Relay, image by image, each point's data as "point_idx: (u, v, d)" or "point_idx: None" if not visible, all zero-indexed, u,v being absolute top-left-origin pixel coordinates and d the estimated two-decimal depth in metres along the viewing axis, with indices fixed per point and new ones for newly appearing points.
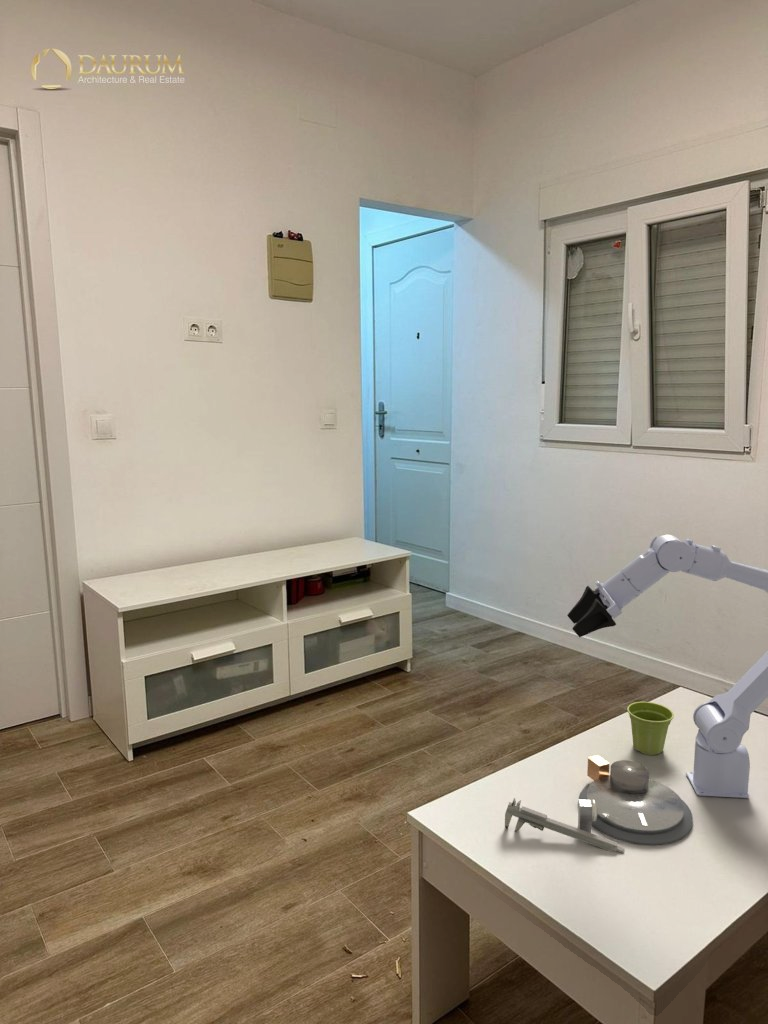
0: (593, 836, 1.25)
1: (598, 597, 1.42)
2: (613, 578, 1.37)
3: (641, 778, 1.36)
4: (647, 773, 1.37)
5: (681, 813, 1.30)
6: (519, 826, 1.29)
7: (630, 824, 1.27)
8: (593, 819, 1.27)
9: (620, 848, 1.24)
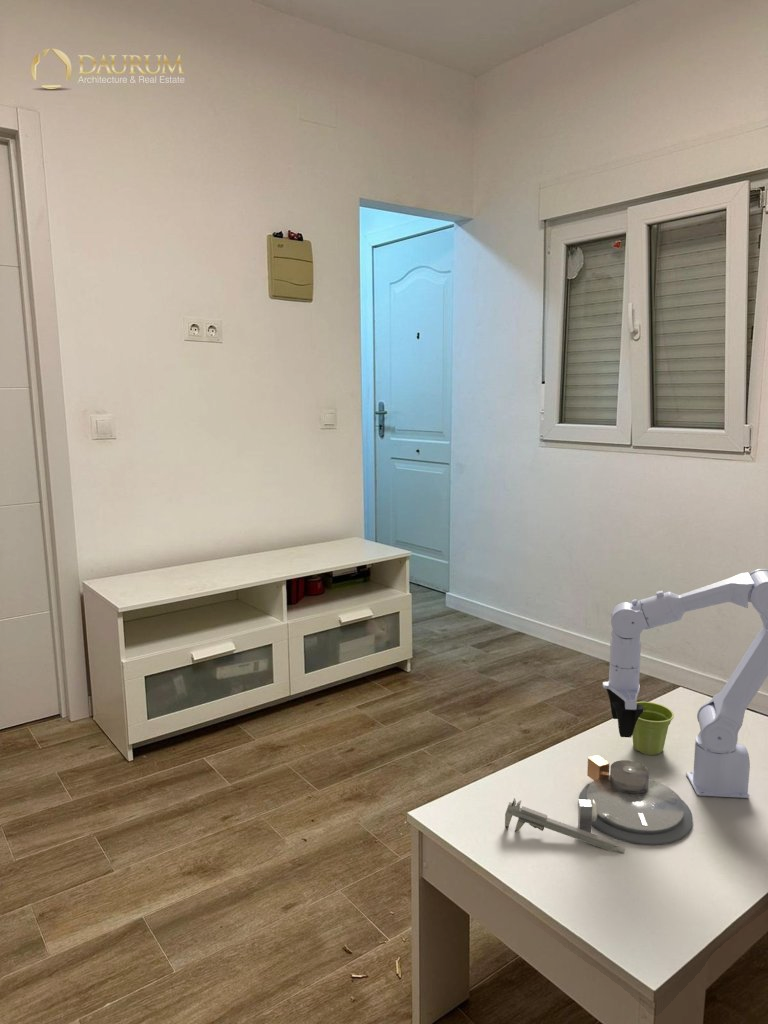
0: (593, 836, 1.25)
1: None
2: (610, 673, 1.44)
3: (641, 778, 1.36)
4: (647, 773, 1.37)
5: (681, 813, 1.30)
6: (519, 826, 1.29)
7: (630, 824, 1.27)
8: (593, 819, 1.27)
9: (620, 848, 1.24)
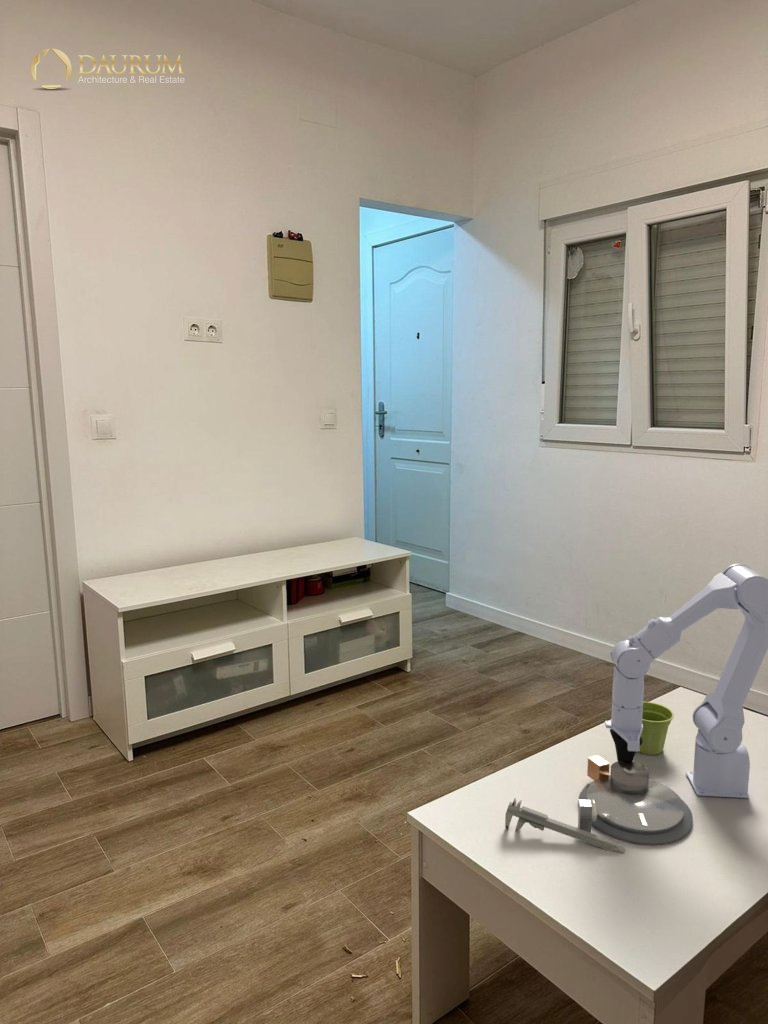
0: (593, 836, 1.25)
1: None
2: (612, 712, 1.41)
3: (641, 778, 1.36)
4: (647, 773, 1.37)
5: (681, 813, 1.30)
6: (519, 826, 1.29)
7: (630, 824, 1.27)
8: (593, 819, 1.27)
9: (620, 848, 1.24)
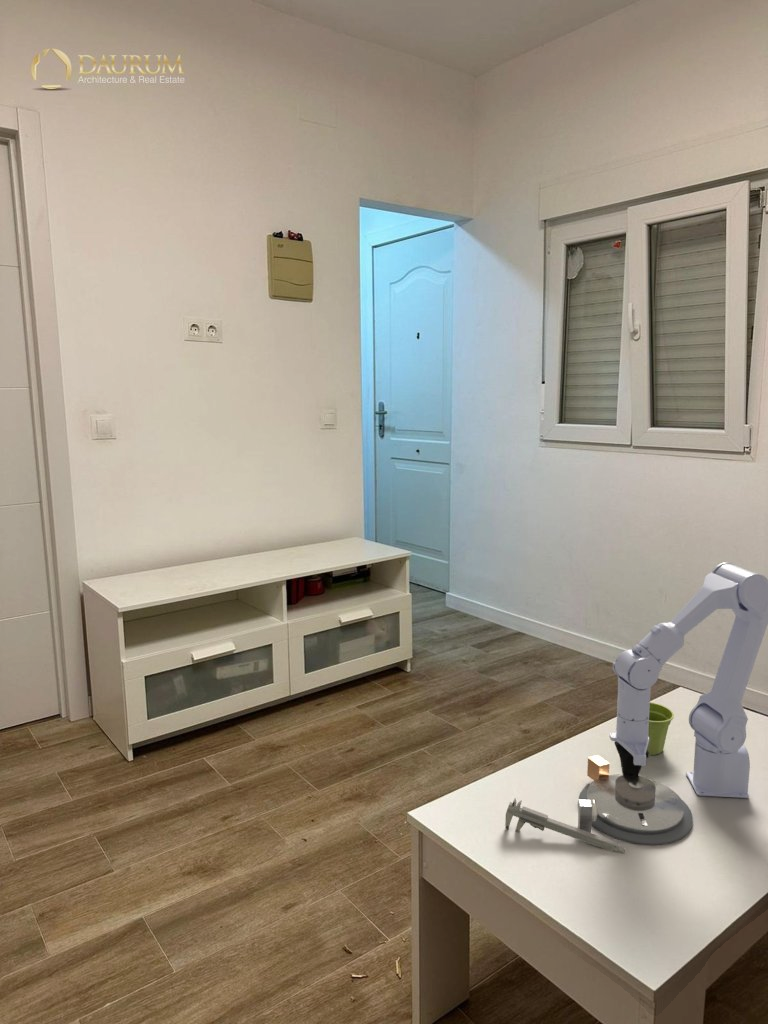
0: (594, 836, 1.25)
1: None
2: (617, 724, 1.36)
3: (647, 794, 1.31)
4: (653, 788, 1.32)
5: (681, 813, 1.30)
6: (520, 826, 1.29)
7: (630, 824, 1.27)
8: (593, 819, 1.27)
9: (620, 848, 1.24)
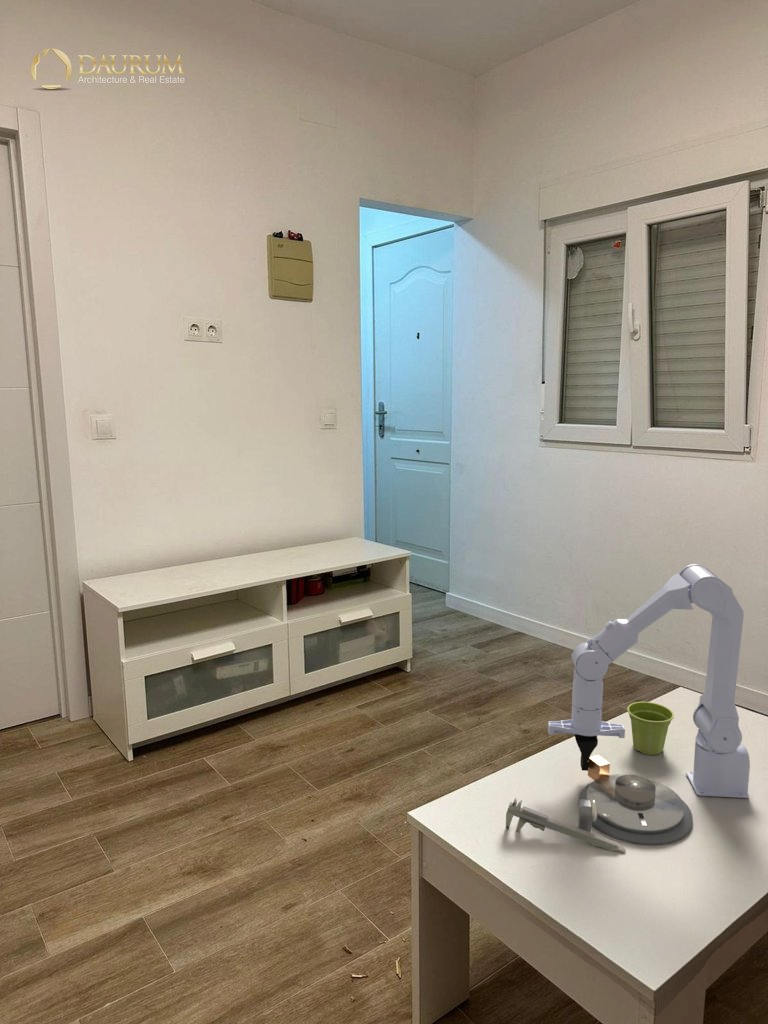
0: (594, 836, 1.25)
1: None
2: None
3: (647, 794, 1.31)
4: (653, 789, 1.32)
5: (681, 813, 1.30)
6: (520, 826, 1.29)
7: (629, 824, 1.27)
8: (593, 819, 1.27)
9: (621, 848, 1.24)
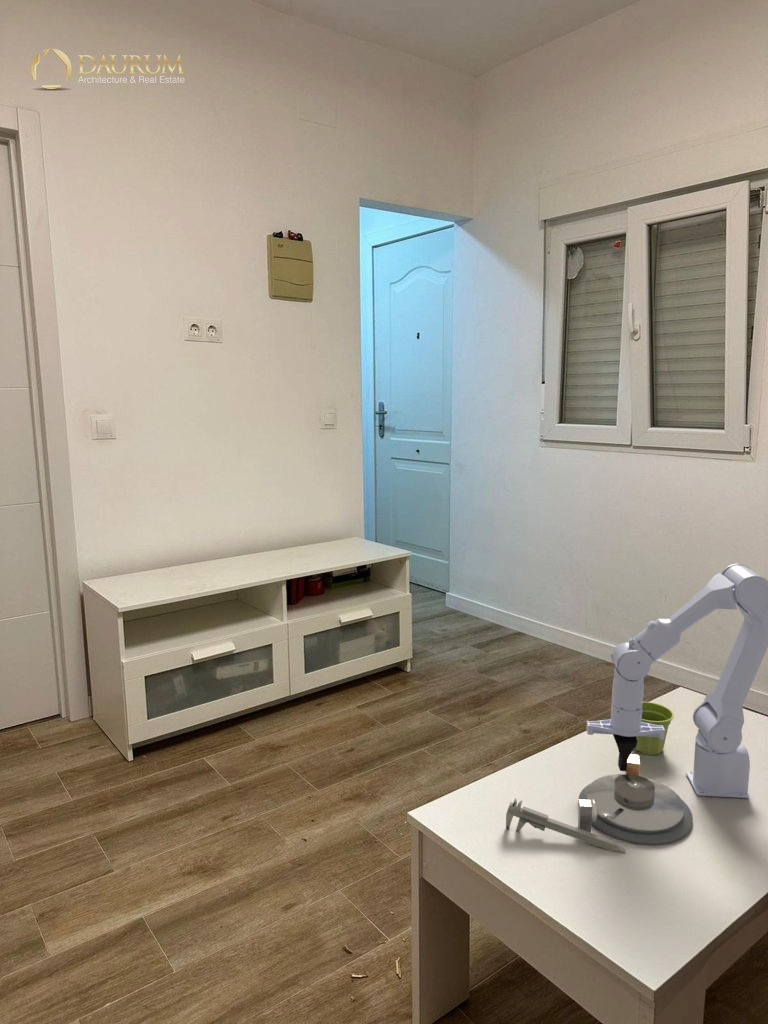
0: (594, 836, 1.25)
1: None
2: None
3: (634, 794, 1.31)
4: (647, 793, 1.31)
5: (662, 824, 1.27)
6: (520, 826, 1.29)
7: (599, 811, 1.31)
8: (593, 819, 1.27)
9: (621, 848, 1.24)
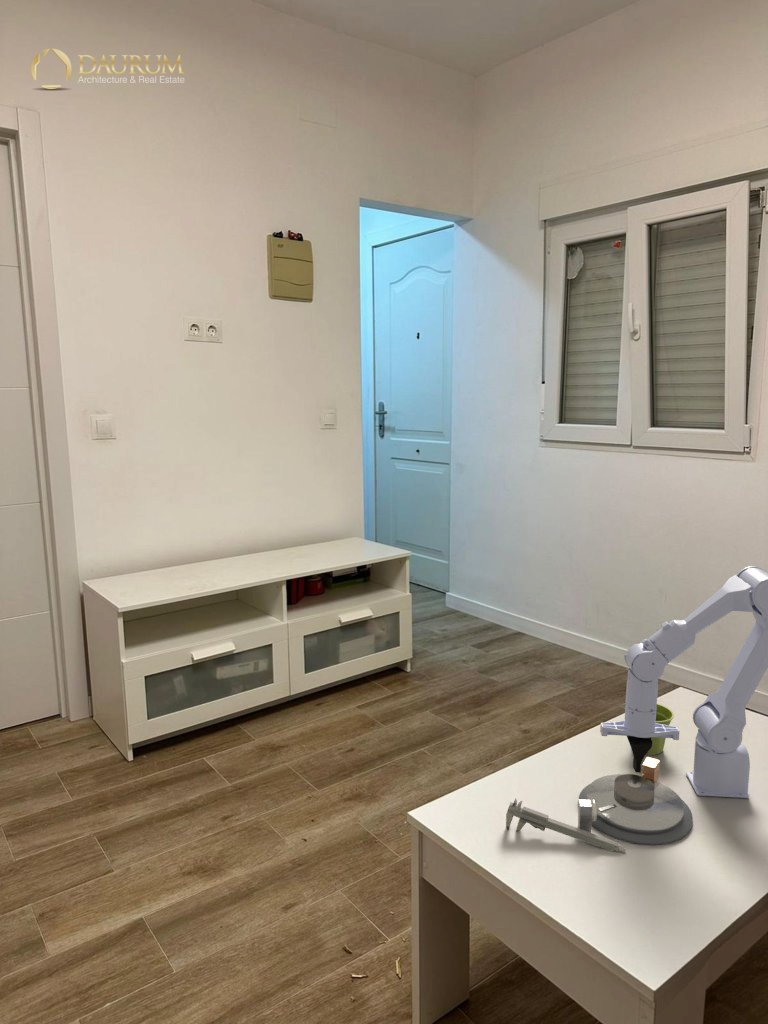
0: (594, 836, 1.25)
1: None
2: None
3: (627, 792, 1.31)
4: (641, 794, 1.31)
5: (647, 826, 1.26)
6: (520, 826, 1.29)
7: None
8: (593, 819, 1.27)
9: (621, 848, 1.24)
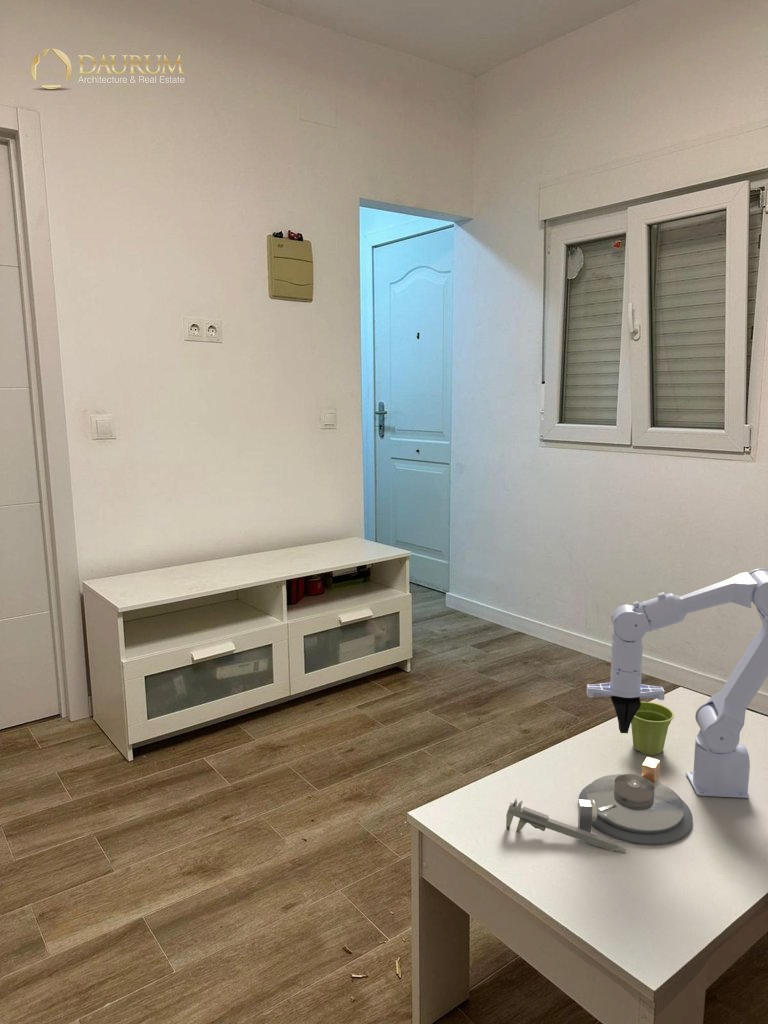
0: (595, 836, 1.25)
1: (626, 697, 1.44)
2: None
3: (627, 792, 1.31)
4: (641, 794, 1.31)
5: (647, 826, 1.26)
6: (520, 826, 1.29)
7: None
8: (593, 819, 1.27)
9: (621, 848, 1.24)
